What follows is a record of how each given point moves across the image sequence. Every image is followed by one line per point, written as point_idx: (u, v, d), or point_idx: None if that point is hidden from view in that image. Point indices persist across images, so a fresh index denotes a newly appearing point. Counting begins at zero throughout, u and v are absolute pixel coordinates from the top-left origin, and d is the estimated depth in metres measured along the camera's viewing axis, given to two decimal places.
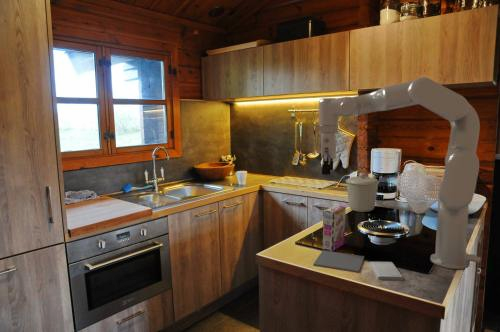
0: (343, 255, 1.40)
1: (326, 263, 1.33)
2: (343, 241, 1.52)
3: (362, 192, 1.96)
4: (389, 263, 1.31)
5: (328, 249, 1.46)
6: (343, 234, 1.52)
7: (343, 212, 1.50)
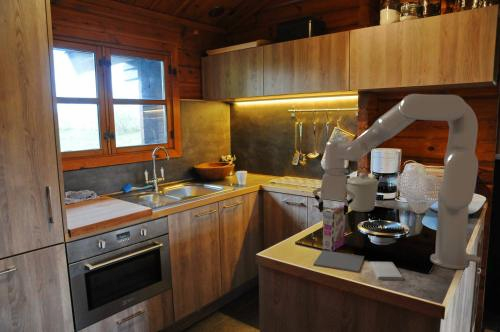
0: (343, 255, 1.40)
1: (326, 263, 1.33)
2: (343, 241, 1.52)
3: (362, 192, 1.96)
4: (389, 263, 1.31)
5: (328, 249, 1.46)
6: (343, 234, 1.52)
7: (343, 212, 1.50)
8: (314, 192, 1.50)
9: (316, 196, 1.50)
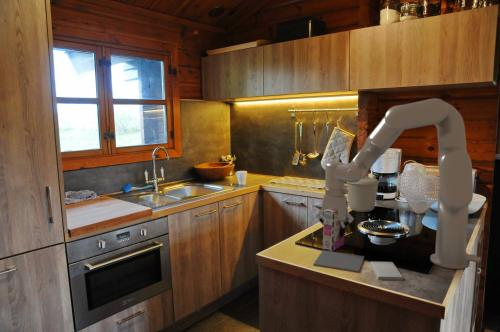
0: (343, 255, 1.40)
1: (326, 263, 1.33)
2: (343, 241, 1.52)
3: (362, 192, 1.96)
4: (389, 263, 1.31)
5: (328, 249, 1.46)
6: None
7: None
8: (317, 216, 1.51)
9: (321, 219, 1.51)
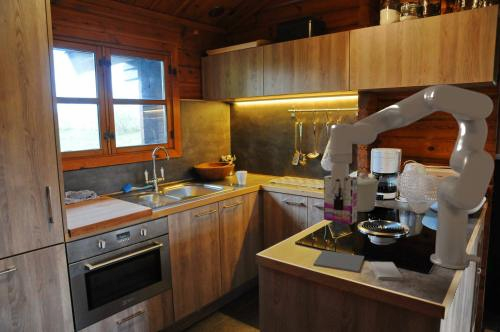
0: (343, 255, 1.40)
1: (326, 263, 1.33)
2: None
3: (362, 192, 1.96)
4: (389, 263, 1.31)
5: (355, 221, 1.31)
6: None
7: None
8: (338, 191, 1.26)
9: None
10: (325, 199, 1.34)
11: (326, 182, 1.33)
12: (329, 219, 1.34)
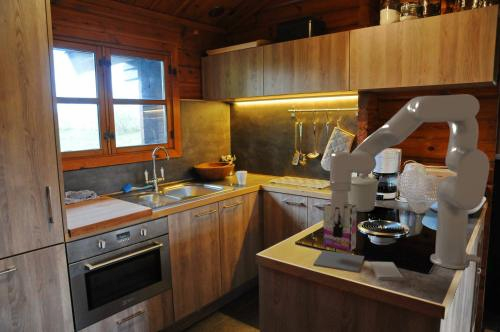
0: (343, 255, 1.40)
1: (326, 263, 1.33)
2: None
3: (362, 192, 1.96)
4: (390, 264, 1.31)
5: (354, 248, 1.32)
6: None
7: None
8: (337, 219, 1.27)
9: None
10: (324, 225, 1.35)
11: (325, 209, 1.34)
12: (328, 245, 1.35)
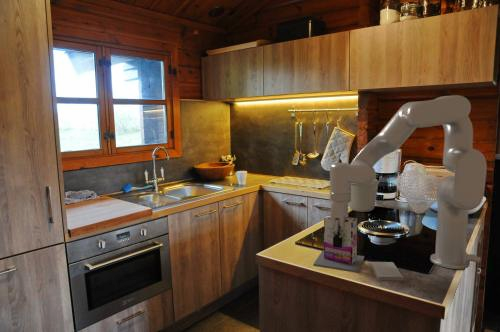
0: None
1: (326, 263, 1.33)
2: None
3: (362, 192, 1.96)
4: (390, 264, 1.31)
5: (354, 260, 1.33)
6: None
7: None
8: (337, 229, 1.27)
9: (339, 232, 1.29)
10: (325, 239, 1.36)
11: (326, 222, 1.35)
12: (329, 258, 1.36)
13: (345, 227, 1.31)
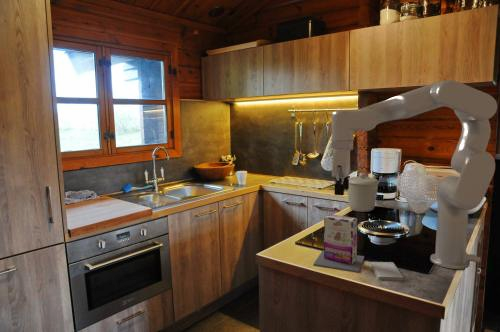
0: None
1: (326, 263, 1.33)
2: None
3: (362, 192, 1.96)
4: (390, 264, 1.31)
5: (354, 261, 1.33)
6: None
7: None
8: (339, 174, 1.25)
9: (340, 178, 1.25)
10: (325, 239, 1.36)
11: (326, 222, 1.35)
12: (329, 258, 1.36)
13: (345, 227, 1.31)
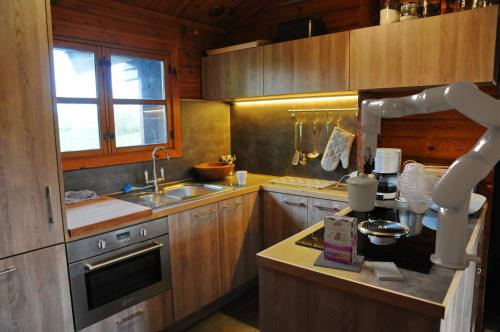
0: None
1: (326, 263, 1.33)
2: None
3: (362, 192, 1.96)
4: (390, 264, 1.30)
5: (354, 261, 1.33)
6: None
7: None
8: (368, 155, 1.42)
9: (369, 158, 1.43)
10: (325, 239, 1.36)
11: (326, 222, 1.35)
12: (329, 258, 1.36)
13: (345, 227, 1.31)
